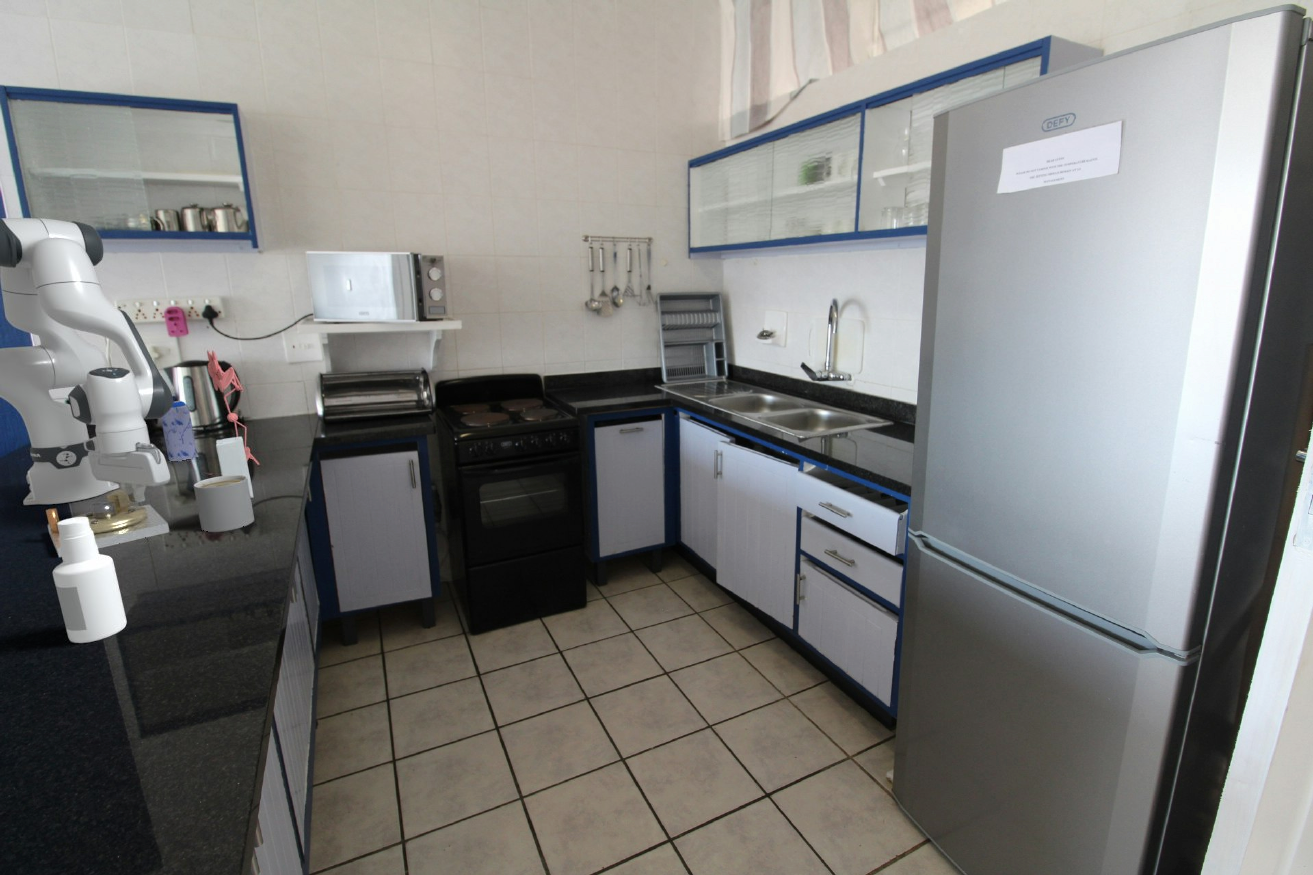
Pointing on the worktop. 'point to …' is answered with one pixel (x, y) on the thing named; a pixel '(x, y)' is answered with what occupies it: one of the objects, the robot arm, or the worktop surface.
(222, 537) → the worktop surface
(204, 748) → the worktop surface
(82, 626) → the white bottle
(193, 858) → the worktop surface
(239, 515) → the coffee mug
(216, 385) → the figurine
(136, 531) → the base plate
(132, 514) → the flange plate
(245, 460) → the skincare box
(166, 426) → the aerosol can
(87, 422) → the robot arm
